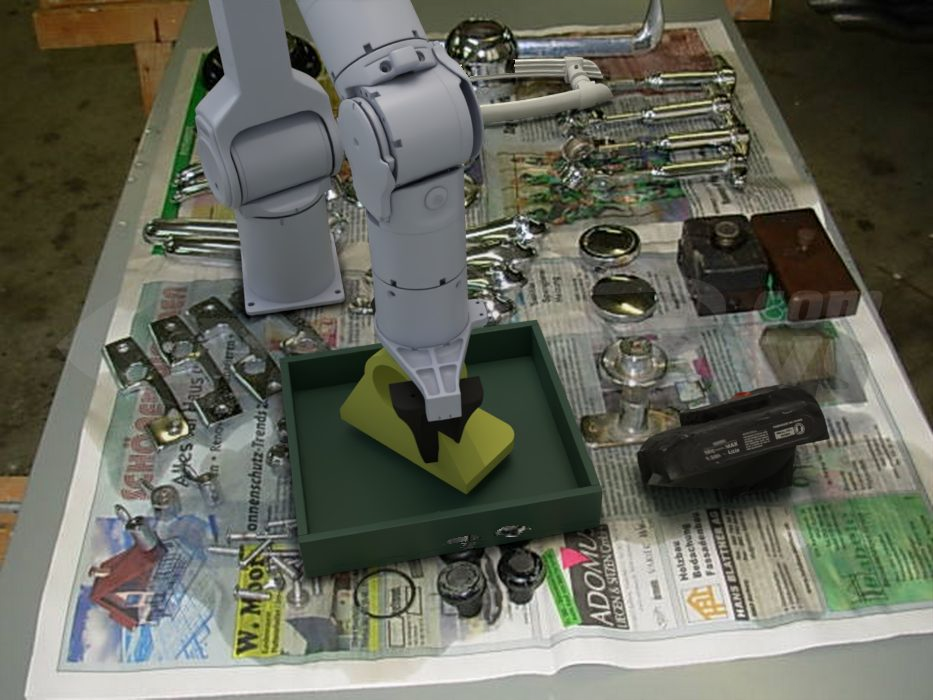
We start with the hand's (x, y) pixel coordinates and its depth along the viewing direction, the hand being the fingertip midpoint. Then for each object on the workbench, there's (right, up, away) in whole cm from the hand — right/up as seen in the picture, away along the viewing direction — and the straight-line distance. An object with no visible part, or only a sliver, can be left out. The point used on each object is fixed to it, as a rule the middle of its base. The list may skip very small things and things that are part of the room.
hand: (430, 420), depth 75 cm
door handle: (+5, +30, +39) cm, 49 cm away
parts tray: (0, -3, +2) cm, 3 cm away
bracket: (0, -2, +3) cm, 3 cm away
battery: (+20, -4, +1) cm, 20 cm away
